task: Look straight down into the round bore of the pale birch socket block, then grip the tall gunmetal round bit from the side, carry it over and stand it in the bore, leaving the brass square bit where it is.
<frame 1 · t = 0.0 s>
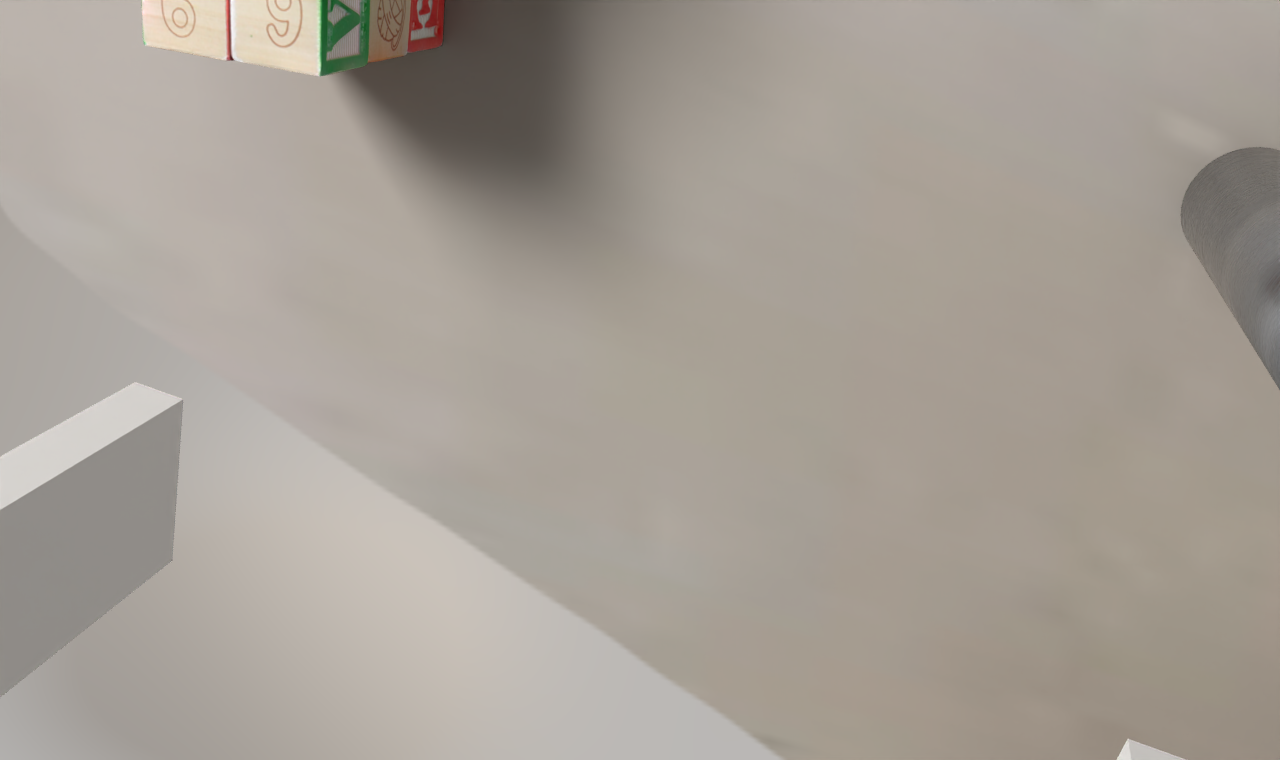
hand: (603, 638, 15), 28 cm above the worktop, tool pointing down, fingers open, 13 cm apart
round bit: (1249, 209, 37), on the worktop
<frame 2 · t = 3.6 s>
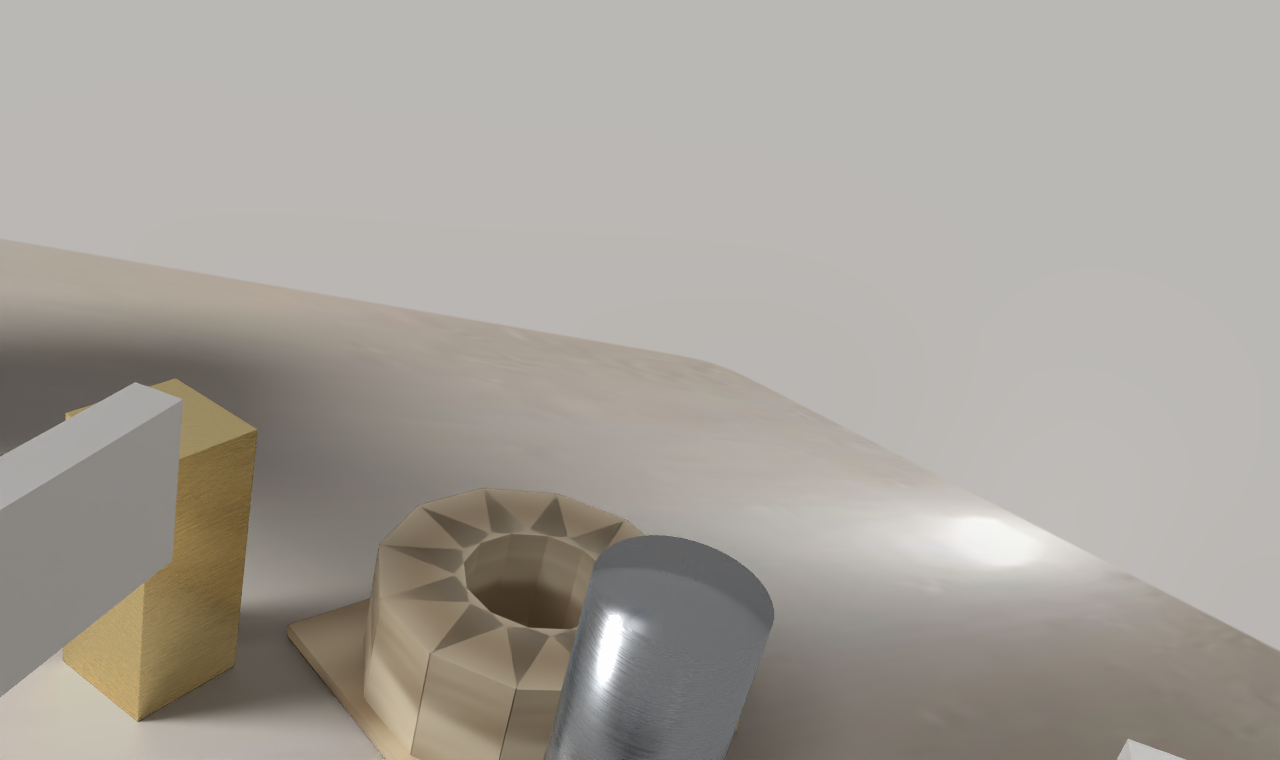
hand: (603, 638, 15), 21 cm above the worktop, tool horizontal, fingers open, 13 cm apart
socket block: (514, 683, 44), on the worktop
square bit: (150, 662, 41), on the worktop
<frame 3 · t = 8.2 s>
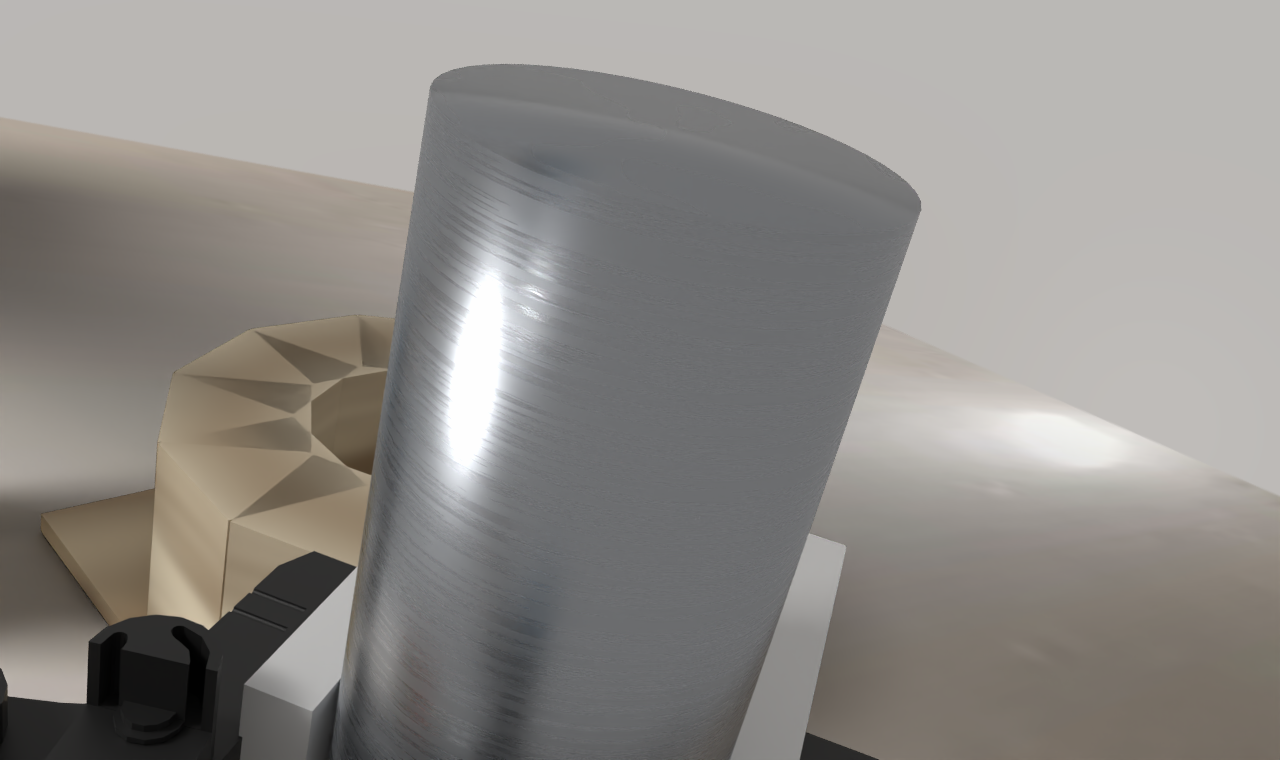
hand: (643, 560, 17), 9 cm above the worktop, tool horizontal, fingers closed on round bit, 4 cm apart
socket block: (403, 601, 29), on the worktop
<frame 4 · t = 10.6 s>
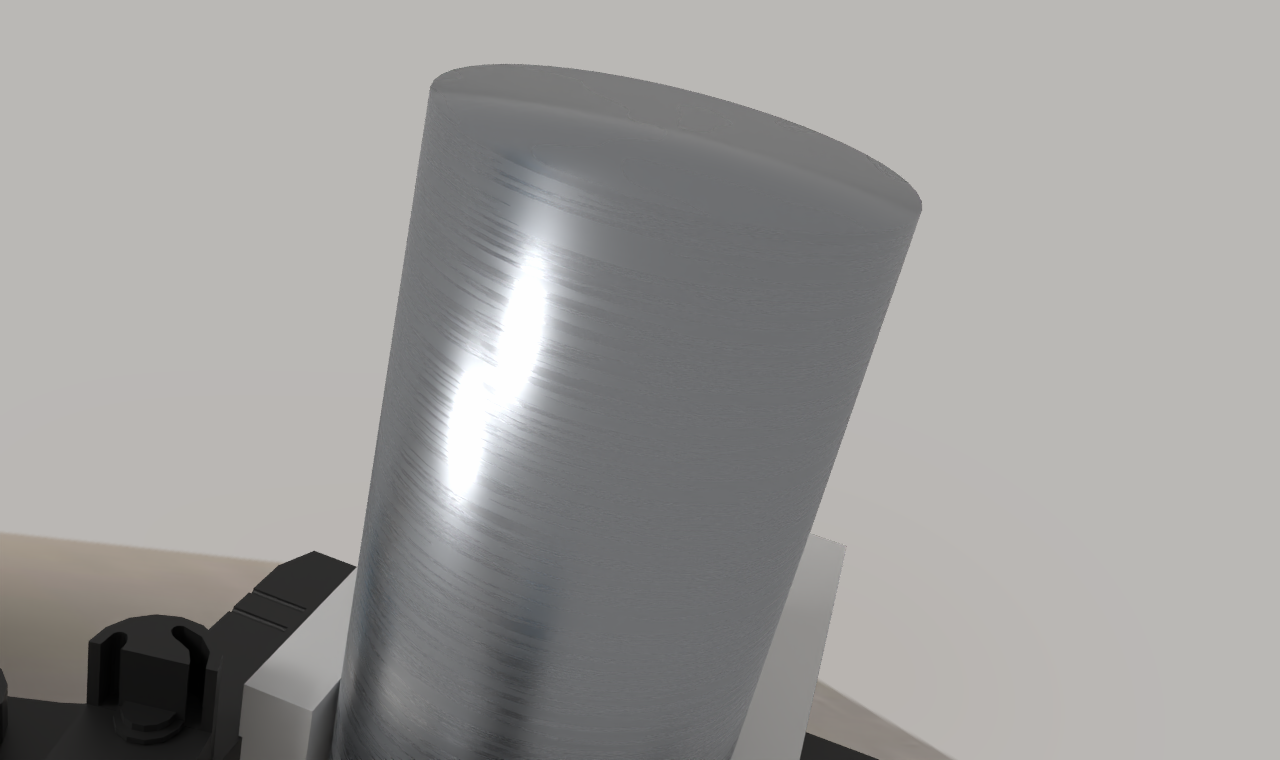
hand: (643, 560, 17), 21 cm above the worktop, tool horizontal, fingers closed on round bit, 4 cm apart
when the fingers open (11 cm above the worktop, at t = 13.2 s): round bit drops 2 cm, resting on socket block.
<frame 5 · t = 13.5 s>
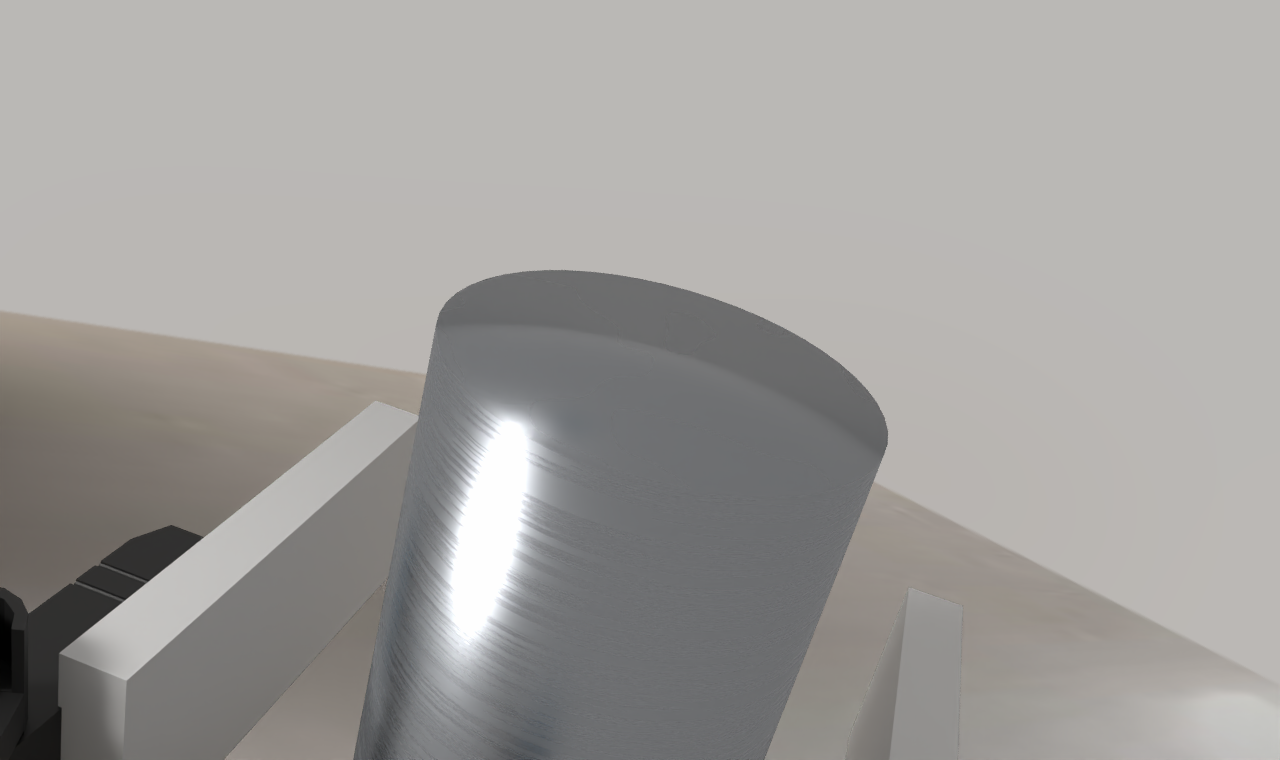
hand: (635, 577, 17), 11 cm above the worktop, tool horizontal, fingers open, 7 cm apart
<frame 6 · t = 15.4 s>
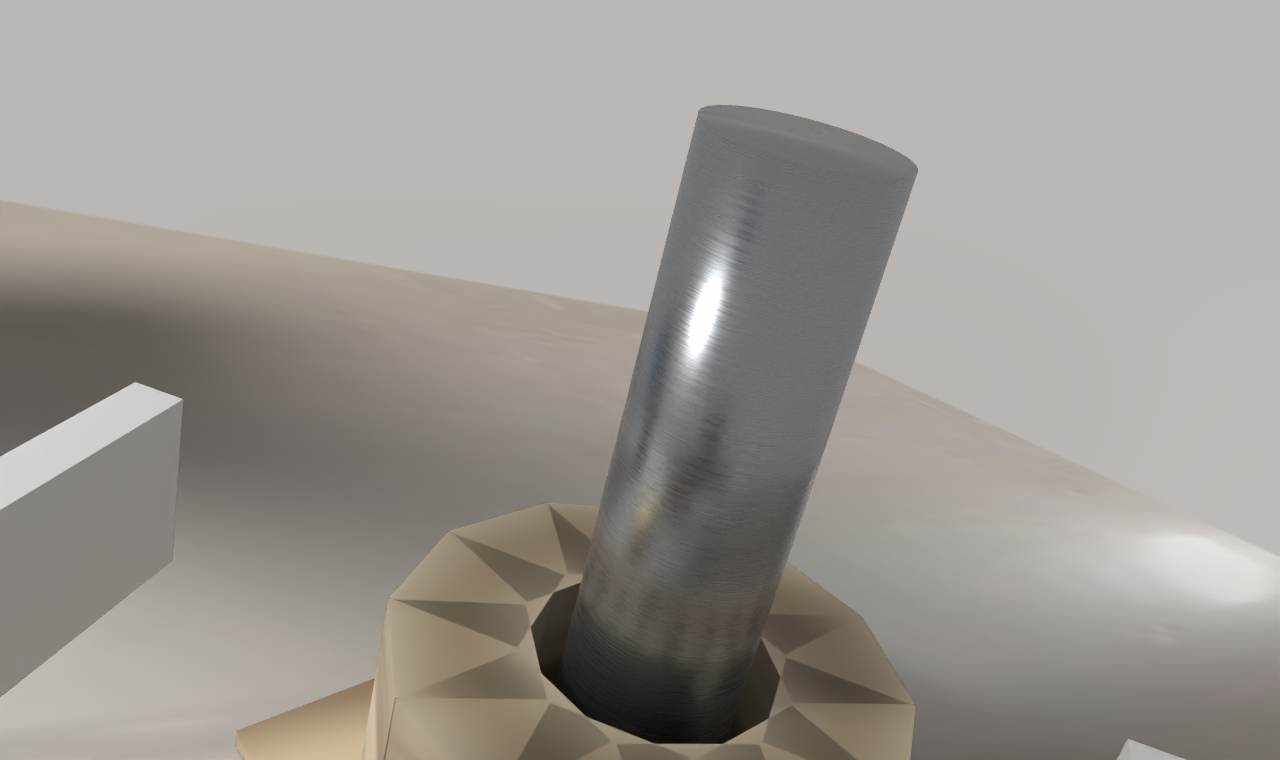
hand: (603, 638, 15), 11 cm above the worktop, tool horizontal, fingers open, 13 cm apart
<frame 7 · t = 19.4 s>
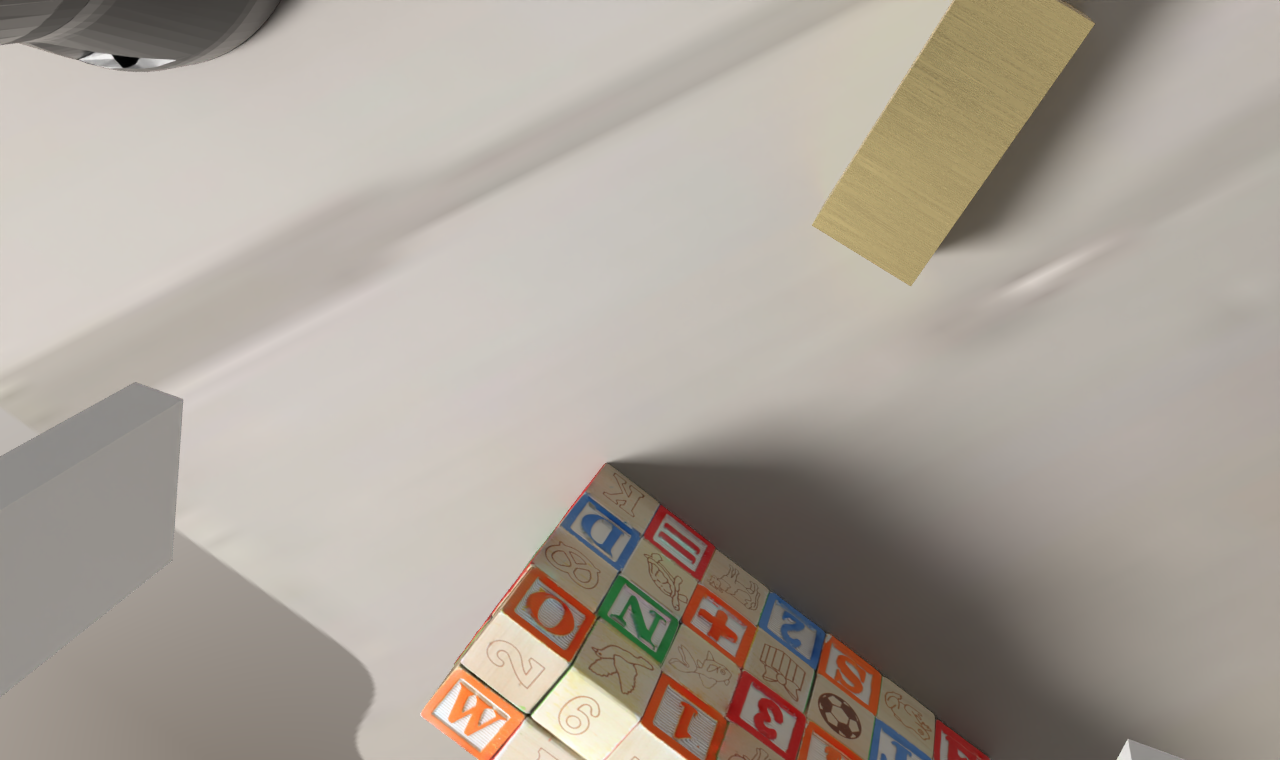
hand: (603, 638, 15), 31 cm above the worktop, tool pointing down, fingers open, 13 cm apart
stack of blocks: (759, 648, 52), on the worktop
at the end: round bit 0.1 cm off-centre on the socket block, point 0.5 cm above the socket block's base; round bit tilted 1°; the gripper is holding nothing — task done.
